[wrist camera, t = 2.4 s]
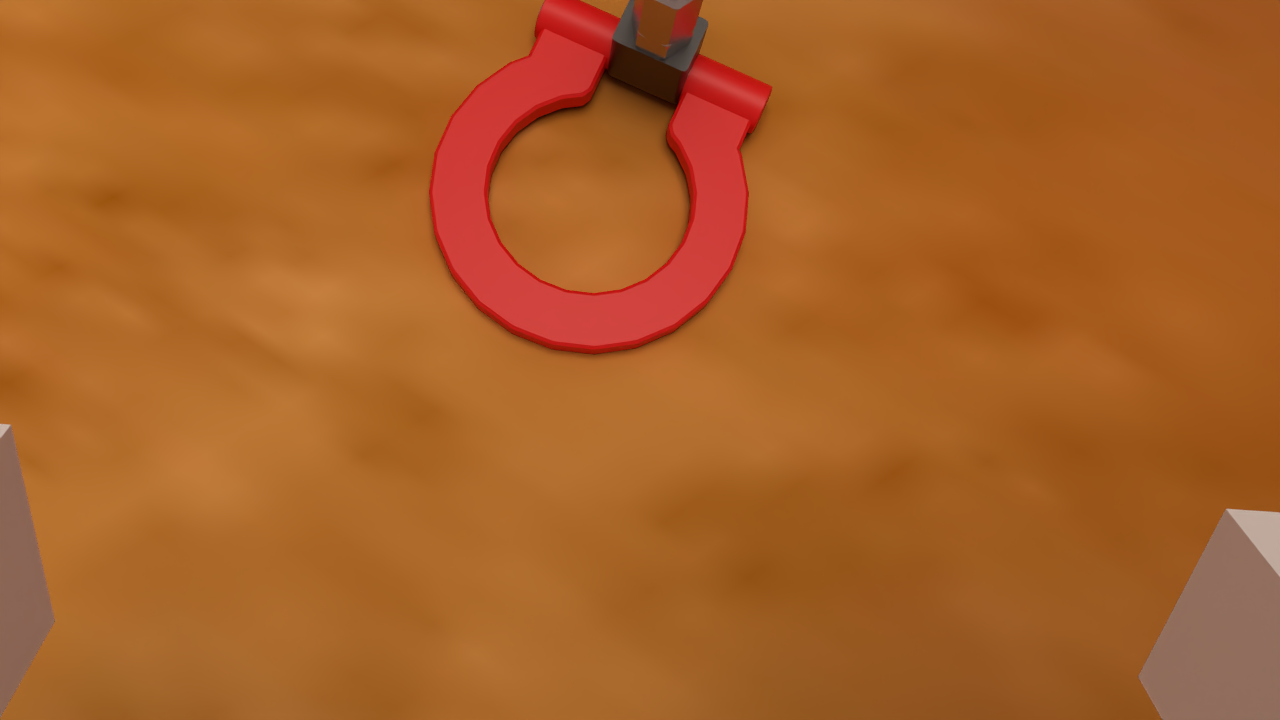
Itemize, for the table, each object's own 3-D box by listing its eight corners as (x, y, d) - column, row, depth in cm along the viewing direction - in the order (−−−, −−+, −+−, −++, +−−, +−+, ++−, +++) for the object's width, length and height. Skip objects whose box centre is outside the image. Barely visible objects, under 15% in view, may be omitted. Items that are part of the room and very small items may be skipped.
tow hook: (670, 407, 29) (796, 112, 31) (774, 284, 16) (980, -206, 18) (380, 278, 29) (525, -9, 30) (255, 52, 16) (518, -416, 18)
